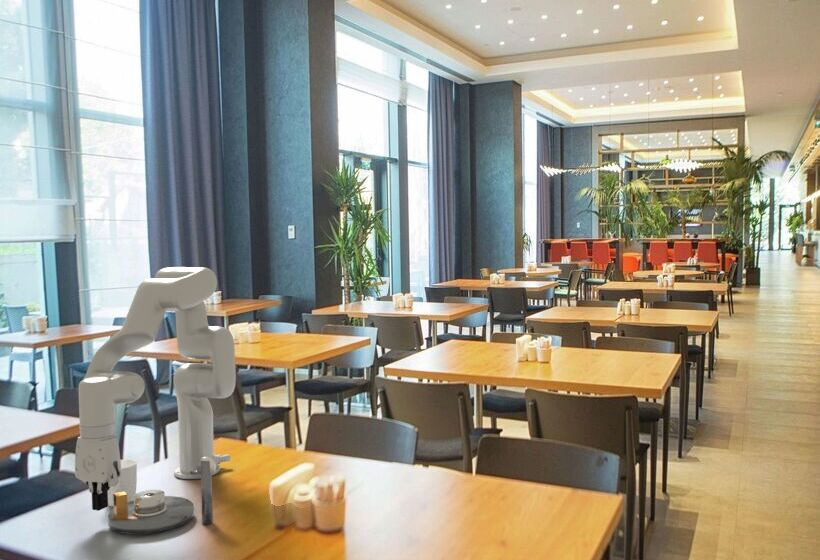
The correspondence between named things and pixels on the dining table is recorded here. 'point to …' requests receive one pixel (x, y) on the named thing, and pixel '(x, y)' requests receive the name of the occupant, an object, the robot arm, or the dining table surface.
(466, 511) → the dining table surface
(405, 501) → the dining table surface
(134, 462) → the white cup
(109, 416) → the robot arm
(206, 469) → the dial post
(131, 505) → the turntable
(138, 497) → the cover
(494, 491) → the dining table surface
